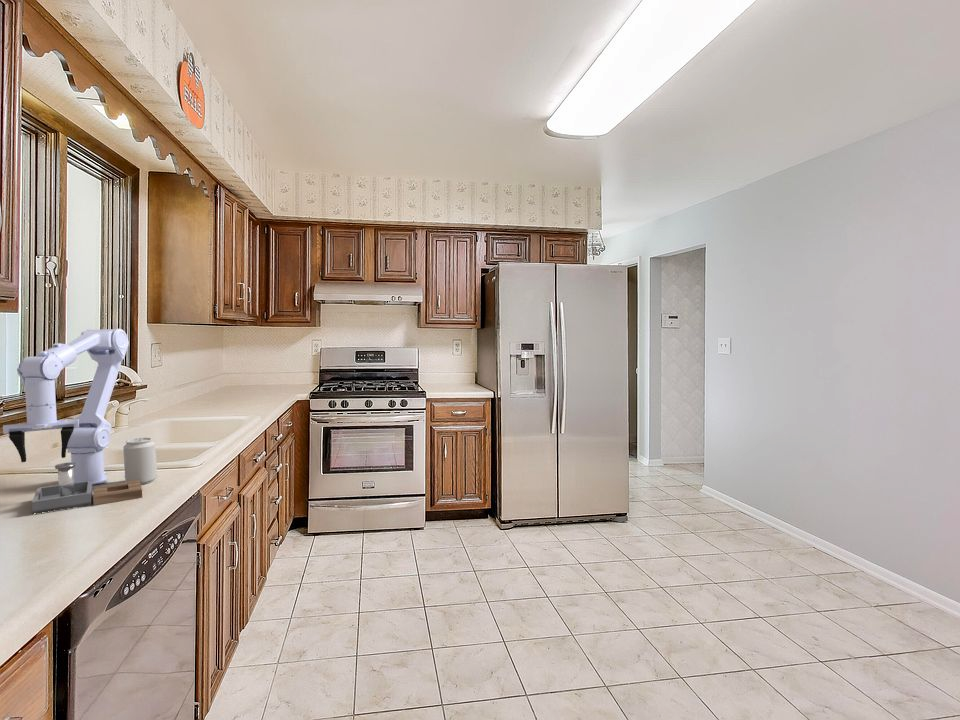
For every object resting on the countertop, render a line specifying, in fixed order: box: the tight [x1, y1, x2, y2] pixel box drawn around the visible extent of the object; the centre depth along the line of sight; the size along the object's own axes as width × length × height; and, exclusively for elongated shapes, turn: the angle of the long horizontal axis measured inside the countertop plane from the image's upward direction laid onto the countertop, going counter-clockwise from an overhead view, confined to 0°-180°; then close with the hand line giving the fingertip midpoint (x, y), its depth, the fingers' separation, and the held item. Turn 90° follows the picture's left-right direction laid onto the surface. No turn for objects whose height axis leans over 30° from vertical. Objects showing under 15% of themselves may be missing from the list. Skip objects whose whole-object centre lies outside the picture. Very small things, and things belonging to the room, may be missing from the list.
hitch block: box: [92, 480, 143, 506], centre depth 137 cm, size 10×10×2 cm
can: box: [122, 437, 158, 485], centre depth 149 cm, size 8×8×12 cm
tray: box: [31, 480, 94, 515], centre depth 132 cm, size 13×11×3 cm
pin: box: [54, 461, 76, 497], centre depth 132 cm, size 4×4×9 cm
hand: (44, 459), depth 133 cm, fingers open, 7 cm apart
